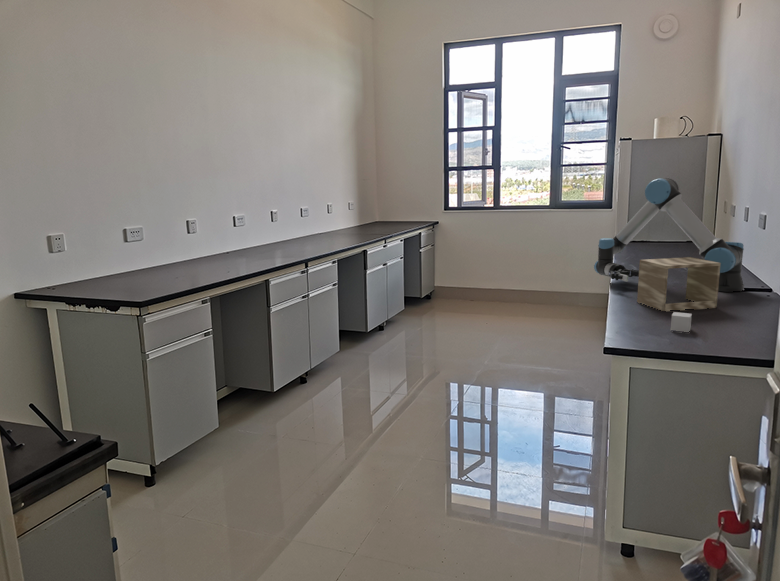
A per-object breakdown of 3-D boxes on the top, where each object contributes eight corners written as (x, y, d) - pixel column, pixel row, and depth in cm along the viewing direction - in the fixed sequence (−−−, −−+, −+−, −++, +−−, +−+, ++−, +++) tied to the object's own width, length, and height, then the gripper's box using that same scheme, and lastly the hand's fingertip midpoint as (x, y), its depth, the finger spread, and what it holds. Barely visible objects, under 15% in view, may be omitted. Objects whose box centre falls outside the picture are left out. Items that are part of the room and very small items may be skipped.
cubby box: (687, 299, 256) (690, 257, 252) (716, 307, 239) (720, 262, 235) (637, 302, 252) (639, 259, 248) (662, 311, 235) (666, 265, 231)
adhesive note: (688, 333, 203) (690, 317, 202) (670, 331, 206) (671, 315, 205) (690, 329, 208) (691, 313, 207) (672, 327, 211) (673, 311, 210)
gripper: (637, 276, 293) (663, 284, 272) (592, 279, 289) (615, 287, 268) (638, 262, 291) (664, 268, 271) (593, 265, 287) (616, 271, 267)
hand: (640, 277), depth 269 cm, fingers open, 13 cm apart
